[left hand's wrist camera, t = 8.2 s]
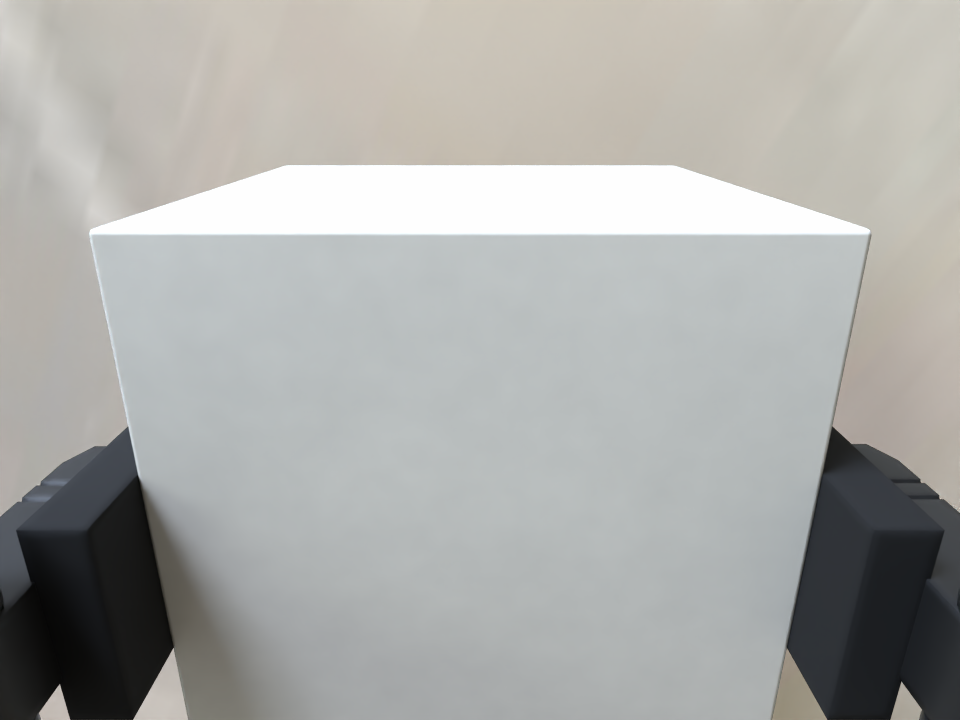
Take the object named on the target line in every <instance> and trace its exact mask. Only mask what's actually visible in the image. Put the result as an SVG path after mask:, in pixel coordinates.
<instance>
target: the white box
mask: <svg viewBox="0 0 960 720" xmlns="http://www.w3.org/2000/svg"><path fill="white" fill-rule="evenodd" d="M89 237H90V242H91V247H92V252H93V257H94V261H95V266H96V271H97V276H98V281H99V286H100V291H101V296H102V301H103V305H104V310H105V315H106V320H107V325H108V330H109V335H110V340H111V344H112V349H113V354H114V359H115V364H116V369H117V374H118V379H119V383H120V388H121V393H122V398H123V403H124V408H125V413H126V418H127V422H128V427H129V432H130V437H131V442H132V447H133V452H134V457H135V462H136V466H137V471H138V476H139V481H140V486H141V491H142V496H143V501H144V505H145V510H146V515H147V520H148V525H149V530H150V535H151V540H152V544H153V549H154V554H155V559H156V564H157V569H158V574H159V579H160V583H161V588H162V593H163V598H164V603H165V608H166V613H167V618H168V623H169V627H170V632H171V637H172V642H173V647H174V652H175V657H176V662H177V666H178V671H179V676H180V681H181V686H182V691H183V696H184V701H185V705H186V710H187V715H188V720H772V717H773V712H774V707H775V702H776V697H777V693H778V688H779V683H780V678H781V673H782V668H783V663H784V658H785V654H786V649H787V644H788V639H789V634H790V629H791V624H792V620H793V615H794V610H795V605H796V600H797V595H798V590H799V585H800V581H801V576H802V571H803V566H804V561H805V556H806V551H807V546H808V542H809V537H810V532H811V527H812V522H813V517H814V512H815V507H816V503H817V498H818V493H819V488H820V483H821V478H822V473H823V468H824V464H825V459H826V454H827V449H828V444H829V439H830V434H831V429H832V425H833V420H834V415H835V410H836V405H837V400H838V395H839V390H840V386H841V381H842V376H843V371H844V366H845V361H846V356H847V352H848V347H849V342H850V337H851V332H852V327H853V322H854V317H855V313H856V308H857V303H858V298H859V293H860V288H861V283H862V278H863V274H864V269H865V264H866V259H867V254H868V249H869V244H870V239H871V231H870V230H869V229H867V228H864V227H861V226H858V225H855V224H852V223H849V222H846V221H843V220H840V219H837V218H833V217H830V216H827V215H824V214H821V213H818V212H815V211H812V210H809V209H806V208H803V207H800V206H797V205H794V204H790V203H787V202H784V201H781V200H778V199H775V198H772V197H769V196H766V195H763V194H760V193H757V192H754V191H751V190H747V189H744V188H741V187H738V186H735V185H732V184H729V183H726V182H723V181H720V180H717V179H714V178H711V177H708V176H704V175H701V174H698V173H695V172H692V171H689V170H686V169H683V168H680V167H677V166H283V167H280V168H277V169H274V170H271V171H268V172H265V173H262V174H259V175H256V176H253V177H250V178H247V179H244V180H240V181H237V182H234V183H231V184H228V185H225V186H222V187H219V188H216V189H213V190H210V191H207V192H204V193H201V194H198V195H194V196H191V197H188V198H185V199H182V200H179V201H176V202H173V203H170V204H167V205H164V206H161V207H158V208H155V209H151V210H148V211H145V212H142V213H139V214H136V215H133V216H130V217H127V218H124V219H121V220H118V221H115V222H112V223H109V224H105V225H102V226H99V227H96V228H94V229H92V230H90V233H89Z"/></svg>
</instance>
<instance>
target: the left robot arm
mask: <svg viewBox="0 0 960 720" xmlns="http://www.w3.org/2000/svg"><path fill="white" fill-rule="evenodd" d="M173 648H174V647H173V642H172V637H171V632H170V627H169V623H168V618H167V613H166V608H165V603H164V598H163V593H162V588H161V583H160V579H159V574H158V569H157V564H156V559H155V554H154V549H153V544H152V540H151V535H150V530H149V525H148V520H147V515H146V510H145V505H144V501H143V496H142V491H141V486H140V481H139V476H138V471H137V466H136V462H135V457H134V452H133V447H132V442H131V437H130V432H129V427H127V428H126V429H125V430H124V431H123V432H122V433H121V434H120V435H118V436H117V437H116V438H115V439H114V440H113V441H112V442H111V443H110V444H109V445H108V446H95V447H93V448H91V449H89V450H87V451H85V452H83V453H81V454H79V455H77V456H75V457H73V458H71V459H69V460H67V461H65V462H63V463H62V464H61V465H60V466H59V467H57V468H56V469H55V470H54V471H53V472H52V473H50V474H49V475H48V476H47V477H46V478H45V479H44V480H42V481H41V485H40V486H35V487H34V488H33V489H32V490H31V491H30V492H28V493H27V494H26V495H25V496H24V497H23V498H22V502H17V503H16V504H15V505H13V506H12V507H11V508H10V509H9V510H8V511H6V512H5V513H4V514H3V515H2V516H1V517H0V720H41V718H40V715H39V712H40V710H41V709H42V708H43V706H44V705H45V703H46V702H47V701H48V699H49V698H50V697H51V695H52V694H53V692H54V691H55V690H56V688H57V687H58V685H59V684H60V685H61V689H62V692H63V696H64V699H65V703H66V706H67V710H68V713H69V717H70V720H133V719H134V717H135V715H136V713H137V712H138V710H139V708H140V706H141V705H142V703H143V701H144V699H145V697H146V696H147V694H148V692H149V690H150V689H151V687H152V685H153V683H154V681H155V680H156V678H157V676H158V674H159V673H160V671H161V669H162V667H163V665H164V664H165V662H166V660H167V658H168V657H169V655H170V653H171V651H172V649H173ZM787 649H788V650H789V652H790V654H791V656H792V657H793V659H794V661H795V663H796V665H797V666H798V668H799V670H800V672H801V673H802V675H803V677H804V679H805V681H806V682H807V684H808V686H809V688H810V689H811V691H812V693H813V695H814V697H815V698H816V700H817V702H818V704H819V705H820V707H821V709H822V711H823V713H824V714H825V716H826V718H827V720H890V719H891V715H892V712H893V708H894V705H895V701H896V698H897V694H898V691H899V688H900V684H901V681H902V682H903V684H904V685H905V687H906V688H907V689H908V691H909V692H910V693H911V695H912V696H913V698H914V699H915V700H916V702H917V703H918V704H919V706H920V707H921V709H922V712H921V715H920V718H919V720H960V513H959V512H958V511H957V510H956V509H954V508H953V507H952V506H951V505H950V504H949V503H947V502H946V501H945V500H944V499H939V495H938V494H937V493H936V492H935V491H933V490H932V489H931V488H930V487H929V486H928V485H926V484H925V483H921V482H920V479H919V478H918V477H917V476H916V475H915V474H914V473H912V472H911V471H910V470H909V469H908V468H907V467H905V466H904V465H903V464H902V463H901V462H900V461H898V460H897V459H895V458H893V457H891V456H889V455H887V454H885V453H883V452H881V451H879V450H877V449H875V448H873V447H871V446H869V445H867V444H851V443H850V442H849V441H847V440H846V439H845V438H844V437H843V436H842V435H841V434H840V433H839V432H838V431H837V430H836V429H834V428H833V427H832V429H831V434H830V439H829V444H828V449H827V454H826V459H825V464H824V468H823V473H822V478H821V483H820V488H819V493H818V498H817V503H816V507H815V512H814V517H813V522H812V527H811V532H810V537H809V542H808V546H807V551H806V556H805V561H804V566H803V571H802V576H801V581H800V585H799V590H798V595H797V600H796V605H795V610H794V615H793V620H792V624H791V629H790V634H789V639H788V644H787Z"/></svg>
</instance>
